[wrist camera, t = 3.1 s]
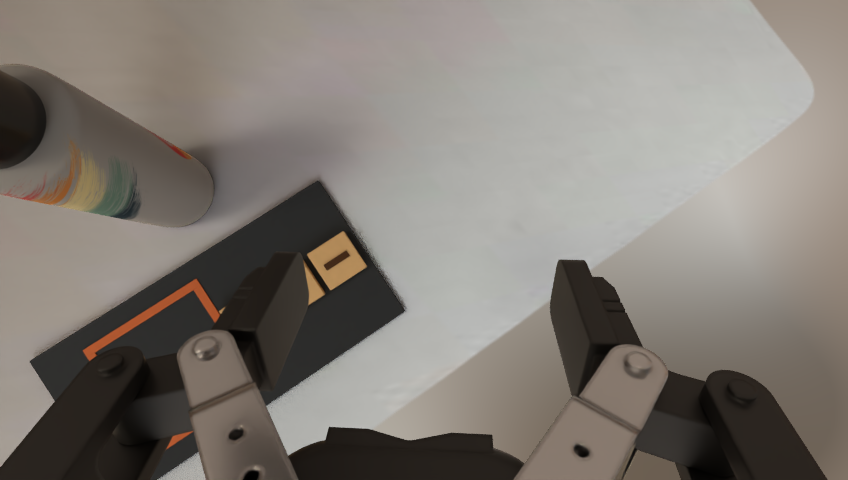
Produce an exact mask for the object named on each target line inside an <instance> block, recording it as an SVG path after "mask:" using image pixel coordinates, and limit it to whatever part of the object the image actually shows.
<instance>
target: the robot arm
mask: <svg viewBox="0 0 848 480" xmlns="http://www.w3.org/2000/svg"><path fill="white" fill-rule="evenodd" d="M308 304H309V289H308V284H307V278H306V273H305V267H304V262H303V257H302V254H301V253H300V252H275V253H274V254H273V256H272V258H271V259H270V261H269V262H268V264H267V266H266V267H258V268H256V269H255V270H254V271H252V272H251V273H250V274H248V275H247V276H246V277H245V278H244V280H243V281H242V283H241V284H240V286H239V287H238V290H236V292H235V293H234V295H233V296H232V299H231V300H230V301H229V303H228V304H227V306H226V307H225V309H224V310H223V312H222V313H221V315H220V316H219V318H218V319H217V321H216V322H215V324H214V325H213V327H212V328H211V330H209V331H205V332H202V333H199V334H197V335H195V336H193V337H191V338H190V339H188V340H187V341H186V342H185V343H184V344H183V345H182V346H181V347H180V349H179V350H178V352H177V353H173V354H168V355H164V356H159V357H154V358H149V359H145V357H144V355H143V353H142V351H141V350H140V349H139V348H136V347H133V346H122V347H116V348H113V349H110V350H107V351H105V352H103V353H101V354H99V355H97V356H96V357H94V358H93V359H91V360H90V361H89V362H88V363H87V364H86V365H85V366H84V367H83V368H82V370H81V371H80V372H79V373H78V374H77V376H76V377H75V378H74V379H73V380H72V382H71V383H70V384H69V385H68V386H67V388H66V389H65V390H64V391H63V392H62V394H61V395H60V396H59V397H58V398H57V400H56V401H55V402H54V403H53V404H52V406H51V407H50V408H49V409H48V410H47V412H46V413H45V414H44V415H43V417H42V418H41V419H40V420H39V421H38V423H37V424H36V425H35V426H34V427H33V429H32V430H31V431H30V432H29V433H28V435H27V436H26V437H25V438H24V439H23V441H22V442H21V443H20V444H19V445H18V447H17V448H16V449H15V450H14V451H13V453H12V454H11V455H10V456H9V457H8V459H7V460H6V461H5V462H4V464H3V465H2V466H1V467H0V480H150V479H151V477H152V475H153V473H154V471H155V470H156V468H157V466H158V464H159V462H160V460H161V458H162V456H163V454H164V452H165V450H166V449H167V447H168V445H169V443H170V441H171V439H172V437H173V436H175V435H179V434H183V433H187V432H191V431H193V432H194V436H195V440H196V443H197V447H198V451H199V455H200V459H201V462H202V466H203V470H204V474H205V478H206V480H623V479H624V478H625V476H626V474H627V472H628V469H629V467H630V465H631V463H632V461H633V459H634V457H635V455H636V453H637V451H638V450H640V451H643V452H645V453H649V454H651V455H655V456H657V457H660V458H663V459H667V460H669V461H672V462H675V464H676V467H677V470H678V472H679V475H680V478H681V480H827V478H826V477H825V475H824V474H823V472H822V471H821V469H820V467H819V466H818V464H817V463H816V461H815V460H814V458H813V457H812V455H811V454H810V452H809V451H808V449H807V447H806V446H805V444H804V443H803V441H802V440H801V438H800V437H799V435H798V434H797V432H796V431H795V429H794V428H793V426H792V424H791V423H790V422H789V420H788V418H787V417H786V415H785V414H784V412H783V411H782V409H781V408H780V406H779V404H778V403H777V401H776V400H775V398H774V397H773V395H772V394H771V393H770V392H769V391H768V390H767V388H765V387H764V386H763V385H762V384H760V383H759V382H758V381H756V380H755V379H753V378H751V377H749V376H747V375H744V374H741V373H739V372H735V371H730V370H719V371H715V372H713V373H711V374H710V375H709V376H708V378H707V380H706V382H705V381H701V380H697V379H694V378H690V377H687V376H683V375H680V374H677V373H674V372H671V371H669V370H668V369H667V367H666V365H665V363H664V362H663V361H662V360H661V359H660V357H658V356H657V355H656V354H655V353H653V352H651V351H650V350H647V349H645V348H643V346H642V344H641V342H640V340H639V338H638V336H637V334H636V332H635V330H634V328H633V325H632V323H631V321H630V319H629V317H628V315H627V313H625V309H624V307H623V305H622V303H620V298H619V296H618V294H617V292H616V290H615V288H614V287H613V286H612V285H611V284H609V283H608V282H607V281H606V280H605V279H604V278H603V277H592V275H591V273H590V271H589V268H588V266H587V264H586V262H585V261H584V260H559V261H558V263H557V267H556V273H555V278H554V283H553V289H552V294H551V301H550V313H551V319H552V324H553V327H554V331H555V335H556V339H557V342H558V346H559V349H560V353H561V357H562V361H563V365H564V368H565V372H566V376H567V380H568V383H569V387H570V391H571V395H572V397H571V398H570V399H569V401H568V402H567V403H566V405H565V406H564V408H563V409H562V411H561V412H560V414H559V415H558V416H557V418H556V419H555V421H554V422H553V424H552V425H551V426H550V428H549V429H548V431H547V432H546V434H545V435H544V436H543V438H542V439H541V441H540V442H539V444H538V445H537V446H536V448H535V449H534V451H533V452H532V454H531V455H530V456H529V458H528V459H527V461H526V462H525V464H524V463H523V462H521V461H520V460H519V459H517V458H515V457H513V456H512V455H510V454H508V453H505V452H503V451H501V450H498V449H495V448H493V441H492V440H493V439H492V435H486V434H464V433H448V434H444V435H438V436H432V437H428V438H422V439H417V440H404V439H400V438H397V437H394V436H390V435H387V434H384V433H380V432H377V431H374V430H370V429H359V428H338V427H329V429H328V433H327V437H326V440H324V441H320V442H316V443H313V444H310V445H308V446H306V447H303V448H301V449H299V450H297V451H296V452H294V453H292V454H291V455H289V456H288V455H287V452H286V450H285V448H284V446H283V443H282V441H281V439H280V437H279V434H278V432H277V430H276V428H275V425H274V423H273V421H272V419H271V416H270V414H269V412H268V410H267V407H266V405H265V403H264V400H263V398H262V396H261V394H260V391H272V392H273V390H274V387H275V385H276V383H277V380H278V378H279V375H280V373H281V371H282V368H283V366H284V364H285V361H286V359H287V356H288V354H289V352H290V349H291V347H292V345H293V342H294V340H295V337H296V335H297V333H298V330H299V328H300V326H301V323H302V321H303V318H304V316H305V314H306V311H307V308H308Z"/></svg>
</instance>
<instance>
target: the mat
mask: <svg viewBox="0 0 848 480" xmlns="http://www.w3.org/2000/svg"><path fill="white" fill-rule="evenodd" d="M275 252H300V253H301V254H302V257H303V262H304V267H305V273H306V278H307V284H308V289H309V304H308V308H307V311H306V314H305V316H304V318H303V321H302V323H301V326H300V328H299V330H298V333H297V335H296V337H295V340H294V342H293V345H292V347H291V349H290V352H289V354H288V356H287V359H286V361H285V364H284V366H283V368H282V371H281V373H280V375H279V378H278V380H277V383H276V385H275V387H274V390H273V392H272V391H260V394H261V396H262V398H263V400H264V403H265V405H267V404H269V403H270V402H272V401H273V400H275V399H276V398H278V397H279V396H281V395H282V394H283V393H285V392H286V391H288V390H289V389H291V388H292V387H294V386H295V385H297V384H298V383H300V382H301V381H303V380H304V379H306V378H307V377H309V376H310V375H311V374H313V373H314V372H316V371H317V370H319V369H320V368H322V367H323V366H325V365H326V364H328V363H329V362H331V361H332V360H334V359H335V358H337V357H338V356H339V355H341V354H342V353H344V352H345V351H347V350H348V349H350V348H351V347H353V346H354V345H356V344H357V343H359V342H360V341H362V340H363V339H365V338H366V337H367V336H369V335H370V334H372V333H373V332H375V331H376V330H378V329H379V328H381V327H382V326H384V325H385V324H387V323H388V322H390V321H391V320H393V319H394V318H396V317H397V316H398V315H400V314H401V313H403V312H404V309H403V307H402V306H401V304H400V303H399V301H398V300H397V298H396V297H395V295H394V294H393V292H392V291H391V289H390V288H389V286H388V285H387V283H386V282H385V280H384V279H383V277H382V276H381V274H380V273H379V271H378V270H377V268H376V267H375V265H374V264H373V262H372V261H371V259H370V258H369V256H368V255H367V253H366V251H365V250H364V248H363V247H362V245H361V244H360V242H359V241H358V239H357V238H356V236H355V235H354V233H353V232H352V230H351V229H350V227H349V226H348V224H347V223H346V221H345V220H344V218H343V217H342V215H341V214H340V212H339V211H338V209H337V208H336V206H335V205H334V203H333V202H332V200H331V199H330V197H329V196H328V194H327V193H326V191H325V189H324V188H323V186H322V185H321V183H320V182H319V181H316V182H315V183H313V184H312V185H310V186H308V187H307V188H305V189H304V190H302V191H301V192H299V193H297V194H296V195H294V196H293V197H291V198H289V199H288V200H286V201H285V202H283V203H281V204H280V205H278V206H277V207H275V208H273V209H272V210H270V211H269V212H267V213H265V214H264V215H262V216H261V217H259V218H257V219H256V220H254V221H253V222H251V223H249V224H248V225H246V226H245V227H243V228H241V229H240V230H238V231H237V232H235V233H233V234H232V235H230V236H229V237H227V238H225V239H224V240H222V241H221V242H219V243H217V244H216V245H214V246H213V247H211V248H209V249H208V250H206V251H205V252H203V253H201V254H200V255H198V256H197V257H195V258H193V259H192V260H190V261H189V262H187V263H185V264H184V265H182V266H181V267H179V268H178V269H176V270H174V271H173V272H171V273H170V274H168V275H166V276H165V277H163V278H162V279H160V280H158V281H157V282H155V283H154V284H152V285H150V286H149V287H147V288H146V289H144V290H142V291H141V292H139V293H138V294H136V295H134V296H133V297H131V298H130V299H128V300H126V301H125V302H123V303H122V304H120V305H118V306H117V307H115V308H114V309H112V310H110V311H109V312H107V313H106V314H104V315H102V316H101V317H99V318H98V319H96V320H94V321H93V322H91V323H90V324H88V325H86V326H85V327H83V328H82V329H80V330H78V331H77V332H75V333H74V334H72V335H70V336H69V337H67V338H66V339H64V340H63V341H61V342H59V343H58V344H56V345H55V346H53V347H51V348H50V349H48V350H47V351H45V352H43V353H42V354H40V355H39V356H37V357H35V358H34V359H32V360H31V361H30V363H31V365H32V366H33V368H34V369H35V371H36V372H37V374H38V375H39V377H40V379H41V380H42V382H43V383H44V385H45V386H46V388H47V389H48V391H49V392H50V394H51V396H52V397H53V399H54V400H55V401H56V400H57V398H58V397H59V396H60V395H61V394H62V392H63V391H64V390H65V389H66V388H67V386H68V385H69V384H70V383H71V382H72V380H73V379H74V378H75V377H76V376H77V374H78V373H79V372H80V371H81V370H82V368H83V367H84V366H85V365H86V364H87V363H88V362H89V361H90V360H91V359H93V358H94V357H96V356H97V355H99V354H101V353H103V352H105V351H107V350H110V349H113V348H116V347H122V346H133V347H136V348H139V349H140V350H141V351H142V353H143V355H144V357H145V359H149V358H154V357H159V356H164V355H168V354H173V353H177V352H178V350H179V349H180V347H181V346H182V345H183V344H184V343H185V342H186V341H187V340H188V339H190V338H191V337H193V336H195V335H197V334H199V333H202V332H205V331H209V330H211V328H212V327H213V325H214V324H215V322H216V321H217V319H218V318H219V316H220V315H221V313H222V312H223V310H224V309H225V307H226V306H227V304H228V303H229V301H230V300H231V299H232V296H233V295H234V293H235V292H236V290H238V287H239V286H240V284H241V283H242V281H243V280H244V278H245V277H246V276H247V275H248V274H250V273H251V272H252V271H254V270H255V269H256V268H258V267H266V266H267V264H268V262H269V261H270V259H271V258H272V256H273V254H274V253H275ZM196 452H198V447H197V443H196V440H195V436H194V432H193V431H191V432H187V433H183V434H179V435H175V436H173V437H172V439H171V441H170V443H169V445H168V447H167V449H166V450H165V452H164V454H163V456H162V458H161V460H160V462H159V464H158V466H157V468H156V470H155V471H154V473H153V475H152V477H151V479H150V480H157V479H158V478H160V477H161V476H163V475H164V474H166V473H167V472H168V471H170V470H171V469H173V468H174V467H176V466H177V465H179V464H180V463H182V462H183V461H185V460H186V459H188V458H189V457H191V456H192V455H194V454H195V453H196Z"/></svg>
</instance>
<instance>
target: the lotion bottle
mask: <svg viewBox="0 0 848 480" xmlns="http://www.w3.org/2000/svg"><path fill="white" fill-rule="evenodd" d="M0 194H1V195H5V196H10V197H15V198H20V199H24V200H29V201H34V202H39V203H44V204H49V205H54V206H60V207H65V208H70V209H75V210H80V211H85V212H90V213H95V214H100V215H105V216H110V217H115V218H120V219H125V220H130V221H136V222H141V223H146V224H151V225H156V226H162V227H182V226H186V225H189V224H191V223H194V222H195V221H197V220H198V219H200V218H201V217H202V216H203V215H204V214H205V213H206V211H207V210H208V209H209V207H210V205H211V202H212V199H213V195H214V186H213V181H212V178H211V175H210V173H209V172H208V170H207V169H206V167H205V166H204V165H203V164H202V163H201V162H199V161H198V160H197V159H196V158H194V157H193V156H191V155H189V154H188V153H186V152H185V151H183V150H181V149H179V148H178V147H176V146H174V145H173V144H171V143H169V142H168V141H166V140H164V139H163V138H161V137H159V136H157V135H156V134H154V133H152V132H151V131H149V130H147V129H146V128H144V127H142V126H140V125H139V124H137V123H135V122H134V121H132V120H130V119H129V118H127V117H125V116H123V115H122V114H120V113H118V112H117V111H115V110H113V109H112V108H110V107H108V106H106V105H105V104H103V103H101V102H100V101H98V100H96V99H95V98H93V97H91V96H89V95H88V94H86V93H84V92H83V91H81V90H79V89H77V88H76V87H74V86H72V85H71V84H69V83H67V82H65V81H63V80H62V79H60V78H58V77H56V76H54V75H52V74H51V73H49V72H46V71H44V70H41V69H38V68H35V67H32V66H28V65H21V64H4V65H0Z"/></svg>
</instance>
